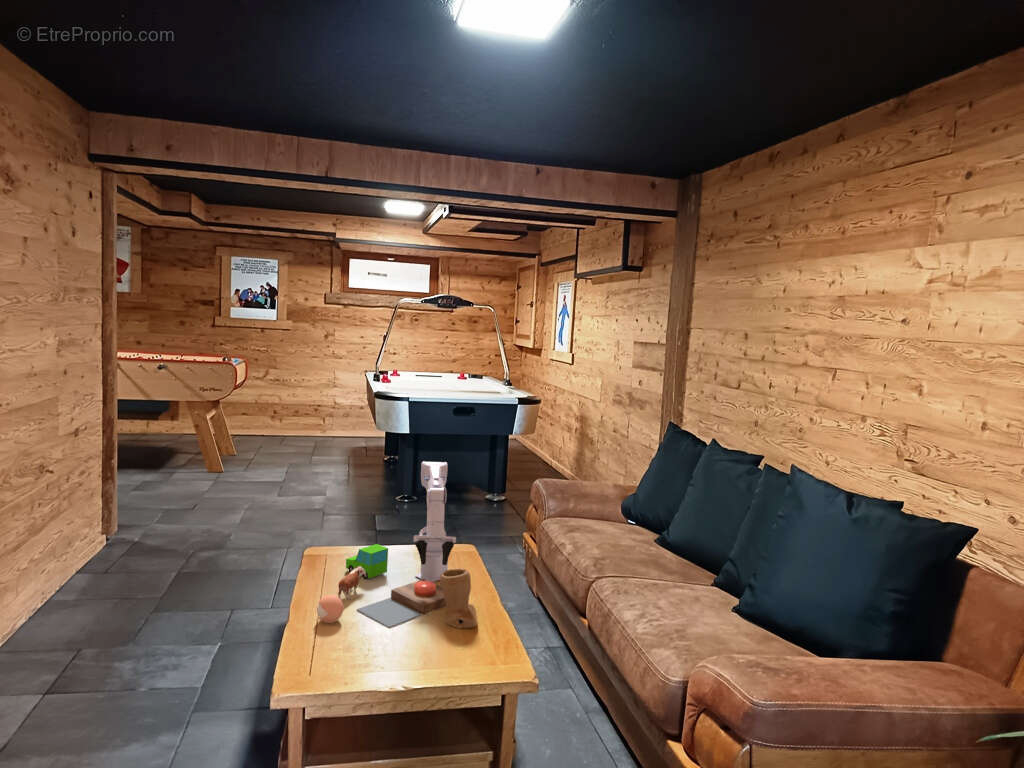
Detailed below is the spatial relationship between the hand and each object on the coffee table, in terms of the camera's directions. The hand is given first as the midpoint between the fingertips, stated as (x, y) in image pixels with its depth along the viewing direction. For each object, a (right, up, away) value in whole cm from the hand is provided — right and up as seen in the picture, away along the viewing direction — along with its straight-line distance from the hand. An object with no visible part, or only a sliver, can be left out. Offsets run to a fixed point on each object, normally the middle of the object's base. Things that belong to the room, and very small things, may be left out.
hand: (434, 564), depth 215 cm
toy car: (-27, -8, +18) cm, 33 cm away
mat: (-12, -12, -13) cm, 21 cm away
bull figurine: (-27, -10, -1) cm, 29 cm away
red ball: (-3, -8, -2) cm, 9 cm away
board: (-3, -11, -2) cm, 12 cm away
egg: (-29, -11, -21) cm, 37 cm away
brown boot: (+9, -13, -14) cm, 21 cm away
